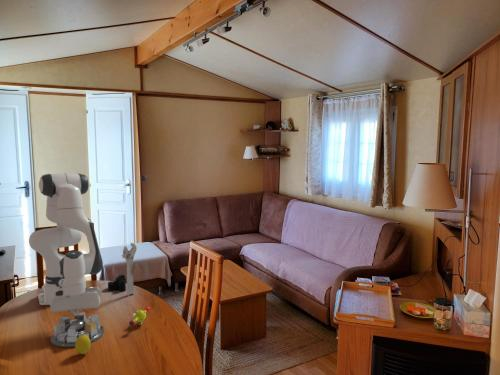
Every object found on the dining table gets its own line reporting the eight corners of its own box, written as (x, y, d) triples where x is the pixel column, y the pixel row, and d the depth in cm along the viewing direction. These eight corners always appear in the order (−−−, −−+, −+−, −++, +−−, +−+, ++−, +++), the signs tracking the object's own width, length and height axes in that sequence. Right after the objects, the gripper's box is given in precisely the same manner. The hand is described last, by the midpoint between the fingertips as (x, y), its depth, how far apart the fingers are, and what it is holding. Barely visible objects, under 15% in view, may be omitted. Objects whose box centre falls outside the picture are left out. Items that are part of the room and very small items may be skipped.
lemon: (78, 351, 155) (77, 331, 154) (92, 350, 156) (92, 331, 155) (73, 358, 150) (72, 338, 149) (88, 357, 150) (87, 337, 149)
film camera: (107, 288, 227) (107, 273, 227) (125, 286, 231) (124, 271, 230) (108, 297, 213) (108, 281, 213) (127, 294, 217) (126, 279, 216)
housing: (43, 335, 169) (43, 321, 168) (92, 320, 183) (92, 308, 182) (60, 353, 153) (59, 338, 153) (111, 336, 168) (111, 322, 167)
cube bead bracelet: (44, 338, 163) (43, 326, 162) (76, 321, 180) (76, 309, 179) (78, 346, 157) (77, 332, 156) (108, 327, 173) (108, 315, 173)
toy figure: (143, 316, 188) (142, 302, 188) (154, 317, 187) (153, 303, 187) (124, 333, 171) (124, 318, 170) (136, 334, 170) (135, 319, 169)
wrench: (124, 299, 209) (122, 244, 206) (122, 299, 210) (120, 244, 208) (138, 296, 214) (136, 242, 212) (136, 295, 216) (134, 241, 213)
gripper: (100, 283, 179) (101, 313, 180) (51, 288, 173) (52, 318, 174) (99, 288, 173) (100, 318, 174) (48, 293, 167) (50, 324, 168)
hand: (76, 318), depth 174 cm, fingers closed, pressing on cube bead bracelet
